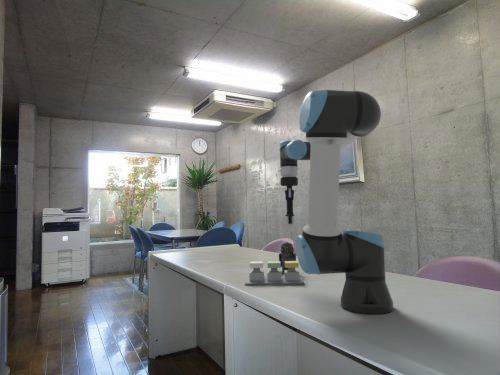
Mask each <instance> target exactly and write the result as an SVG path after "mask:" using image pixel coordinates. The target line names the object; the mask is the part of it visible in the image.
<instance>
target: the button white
mask: <svg viewBox="0 0 500 375" xmlns="http://www.w3.org/2000/svg"><path fill="white" fill-rule="evenodd" d="M249 268H250V269H252V271H253V273H260V270H261V269H263V268H264V261H262V260H261V261H260V260H259V261H256V260H255V261H253V260H252V261H250V262H249Z"/></svg>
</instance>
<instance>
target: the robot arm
mask: <svg viewBox="0 0 500 375" xmlns="http://www.w3.org/2000/svg"><path fill="white" fill-rule="evenodd" d="M381 116H382V111H381V107H380V105H379V102H378V101H377V99H376V98H375V97H374V96H372V95H371V94H369V93H368V92H364V91H361V90H354V91H353V90H352V91H351V90H337V89H336V90H335V89H334V90H333V89H321V90H311V91H309V92H308V93H307V94H306V96H305V97H304V100H303V102H302V105H301V108H300V113H299V123H298V124H299V130H300V131H301V132H303V133H304V134H305V140H306V141H303V140H301V139H295V140H283V141H281V142H280V144H279V161H280V162H279V163H280V164H279V166H280V168H279V169H278V172H280V176H281V177H280V186H281V187H286V189H285V190H284V195H285V201H286V214H285V217H286V232H294V217H295V214H294V199H295V198H294V196H295V195H294V194H295V189H293V187H296V186H298V185H299V178H298V176H299V172H298V171H299V168H298V166H299V165H298V161H309V178H308V179H309V184H308V185H309V186H308V187H309V188H308V209H307V211H308V214H307V215H308V216H307V224H305V226H303V227H302V234H299V235H297V236H296V239H295V249H296V257H297V261H298V264H299V265H300V268H301V270H302V271H303V272H304V273H305V274H308V275H326V274H329V275H330V274H331V275H332V274H345V282H344V284H343V289H342V293H341V295H340V306H341V308H342V309H345V310H346V311H350V312H353V313H359V314H367V315H370V314H371V315H380V314H381V315H382V314H387V313H391V312H392V311H394V301H393V298H392V296H391V293H390V292H391V291H390V289H389V287H388V285H387V282H386V265H385V264H386V262H385V260H386V259H385V258H386V257H385V249H386V248H385V244H384V243H385V242H384V238H383V235H381V233H378V232H372V231H371V232H370V231H362V230H354V229H353V230H351V229H344V230H342V229H341V228H340V227H339V226H338V214H339V213H338V211H339V193H340V191H339V190H340V174H341V173H340V171H341V170H340V169H341V154H342V153H341V151H342V150H343V149H345V148H346V147H347V146H349V145H350V144H352V143H353V142H354V141H356V140H357V139H358V138H363V137H367V136H369V134H371V133H373V131H374V130H375V129H377V127H378V126H379V124H380V121H381Z"/></svg>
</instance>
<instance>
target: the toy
mask: <svg viewBox="0 0 500 375" xmlns="http://www.w3.org/2000/svg"><path fill="white" fill-rule="evenodd" d="M279 251H280V253H279V254H278V261H280V263H281V274H282V275H284V270H288V268H285V261H297V253H295V249H294V244H292V243H290V242H288V241H286V242H284V243H281V245H280V249H279Z"/></svg>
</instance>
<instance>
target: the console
mask: <svg viewBox="0 0 500 375" xmlns="http://www.w3.org/2000/svg"><path fill="white" fill-rule="evenodd" d="M277 270H278V269H277ZM281 271H282V269H281V270H278V272H271V269H270V270H269V269H268V270H267V271H266V275H265V271H264V269H263V270H261V269H260V273H253V270H250V271H249V273H248V275H247V277H246V280H245V283H244V285H245V286H305V284H306V283H305V280H304V279H303V277H302V275H301V274H300V270H298V269H295V272H288V270H284V274H282V273H281Z"/></svg>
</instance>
